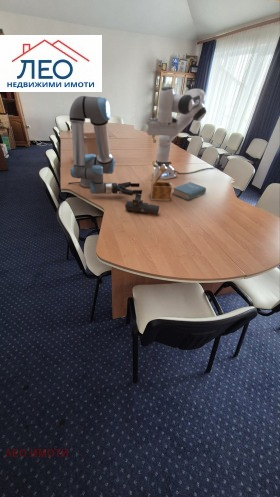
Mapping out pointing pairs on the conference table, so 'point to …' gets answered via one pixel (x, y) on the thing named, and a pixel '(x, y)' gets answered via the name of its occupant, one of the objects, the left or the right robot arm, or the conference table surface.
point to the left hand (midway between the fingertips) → (140, 188)
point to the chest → (161, 191)
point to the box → (91, 142)
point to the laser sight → (141, 206)
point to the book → (189, 190)
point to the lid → (158, 173)
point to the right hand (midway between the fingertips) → (161, 142)
